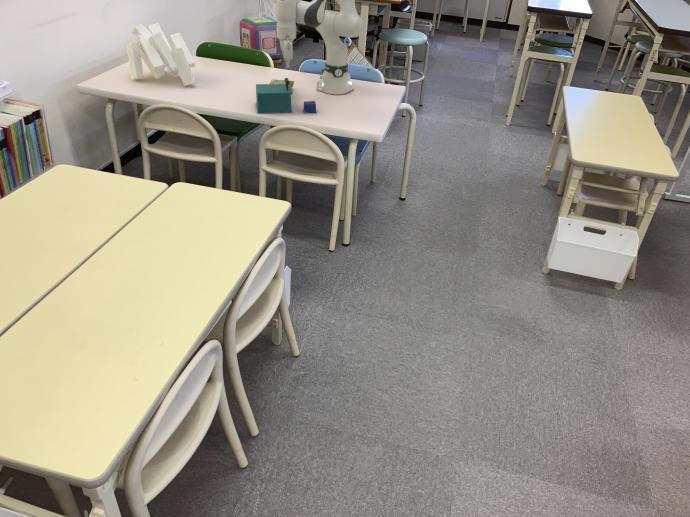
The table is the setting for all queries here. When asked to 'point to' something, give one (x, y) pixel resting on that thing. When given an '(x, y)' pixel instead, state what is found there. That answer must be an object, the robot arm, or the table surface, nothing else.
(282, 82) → the puzzle game
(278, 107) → the cooler
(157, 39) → the pile of blocks
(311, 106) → the block
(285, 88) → the cooler lid
